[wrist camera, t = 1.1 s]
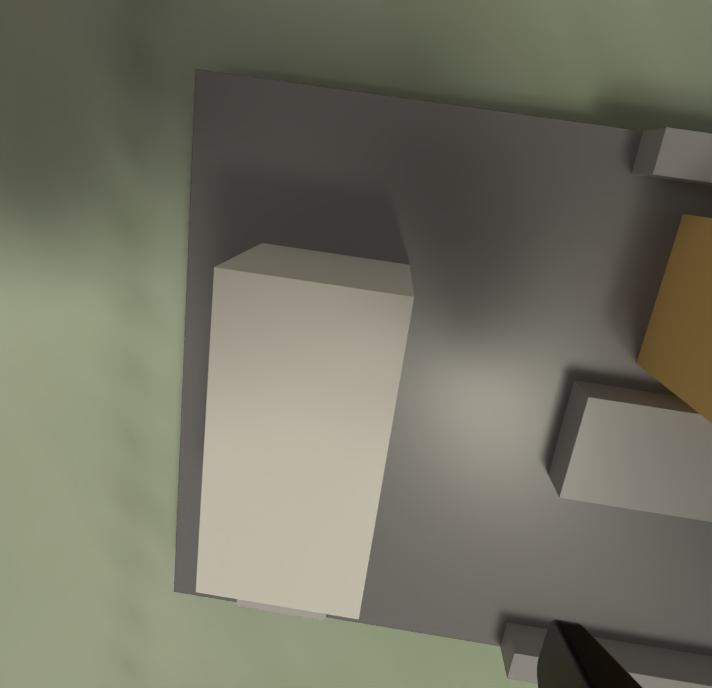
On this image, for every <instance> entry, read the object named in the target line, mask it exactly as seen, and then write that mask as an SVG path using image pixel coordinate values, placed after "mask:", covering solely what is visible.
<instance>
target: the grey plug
mask: <svg viewBox="0 0 712 688" xmlns="http://www.w3.org/2000/svg"><path fill="white" fill-rule="evenodd" d="M413 301H414V292H413V284H412V276H411V268H410V265H408V264H401V263H394V262H388V261H381V260H374V259H367V258H360V257H354V256H347V255H340V254H333V253H327V252H320V251H313V250H306V249H300V248H293V247H286V246H279V245H272V244H266V243H261V244H259V245H257V246H255V247H253V248H251V249H249V250H247V251H245V252H243V253H241V254H239V255H237V256H235V257H233V258H231V259H229V260H227V261H225V262H223V263H221V264H219V265H218V266H216V267H214V278H213V296H212V314H211V331H210V349H209V367H208V384H207V402H206V420H205V437H204V455H203V473H202V490H201V508H200V526H199V543H198V561H197V579H196V592H197V593H203V594H209V595H215V596H221V597H227V598H233V599H237V604H236V606H239V607H245V608H251V609H257V610H263V611H269V612H275V613H281V614H287V615H293V616H298V617H304V618H310V619H316V620H322V621H325V620H326V614H329V615H335V616H341V617H347V618H353V619H359V615H360V609H361V603H362V597H363V591H364V585H365V580H366V574H367V568H368V562H369V556H370V551H371V545H372V539H373V533H374V527H375V522H376V516H377V510H378V504H379V498H380V493H381V487H382V481H383V475H384V469H385V464H386V458H387V452H388V446H389V440H390V435H391V429H392V423H393V417H394V411H395V406H396V400H397V394H398V388H399V382H400V377H401V371H402V365H403V359H404V353H405V348H406V342H407V336H408V330H409V324H410V318H411V313H412V307H413Z"/></svg>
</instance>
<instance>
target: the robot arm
mask: <svg viewBox="0 0 712 688" xmlns="http://www.w3.org/2000/svg"><path fill="white" fill-rule="evenodd" d="M537 681H538V688H643V687H642V686H641V685H640V684H639V683H638V682H637V681H636V680H635V679H634V678H633V677H632V676H631V675H630V674H629V673H628V672H627V671H626V670H625V669H624V668H623V667H622V666H621V665H620V664H619V663H618V662H617V660H616V659H615V658H614V657H613V656H612V655H611V654H610V653H609V652H608V651H607V650H606V649H605V648H604V647H603V646H602V645H601V644H600V643H599V642H598V641H597V640H596V639H595V638H594V637H593V636H592V634H591V633H590V632H589V631H588V630H587V629H586V628H585V627H584V626H582V625H581V624H580V623H577V622H572V621H566V620H560V619H554V620H552V621H551V622H550V624H549V626H548V628H547V632H546V635H545V638H544V642H543V645H542V648H541V651H540V655H539V658H538V662H537Z"/></svg>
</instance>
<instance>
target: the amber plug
mask: <svg viewBox="0 0 712 688" xmlns="http://www.w3.org/2000/svg"><path fill="white" fill-rule="evenodd" d="M637 364H638V365H639V366H640V367H642V368H643V369H644V370H645V371H647V372H648V373H649V374H650V375H652V376H653V377H654V378H655V379H657V380H658V381H659V382H660V383H662V384H663V385H664V386H665V387H667V388H668V389H669V390H671V391H672V392H673V393H674V394H676V395H677V396H678V397H679V398H681V399H682V400H683V401H684V402H686V403H687V404H688V405H689V406H691V407H692V408H693V409H694V410H696V411H697V412H698V413H699V414H701V415H702V416H703V417H704V418H706V419H707V420H708V421H709V422H711V423H712V218H708V217H701V216H694V215H687V214H683V215H682V218H681V222H680V225H679V228H678V231H677V234H676V238H675V241H674V244H673V247H672V251H671V254H670V257H669V260H668V263H667V267H666V270H665V273H664V276H663V279H662V283H661V286H660V289H659V292H658V295H657V299H656V302H655V305H654V308H653V312H652V315H651V318H650V321H649V324H648V328H647V331H646V334H645V337H644V340H643V344H642V347H641V350H640V353H639V356H638V360H637Z"/></svg>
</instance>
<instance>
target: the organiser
mask: <svg viewBox="0 0 712 688" xmlns="http://www.w3.org/2000/svg"><path fill="white" fill-rule="evenodd" d="M683 214H687V215H694V216H701V217H708V218H712V133H705V132H698V131H691V130H684V129H676V128H669V127H664V128H659V129H653V130H647V131H638V130H631V129H624V128H617V127H609V126H602V125H595V124H588V123H580V122H573V121H566V120H559V119H552V118H544V117H537V116H530V115H523V114H515V113H508V112H501V111H494V110H487V109H479V108H472V107H465V106H458V105H451V104H443V103H436V102H429V101H422V100H414V99H407V98H400V97H393V96H386V95H378V94H371V93H364V92H357V91H349V90H342V89H335V88H328V87H321V86H313V85H306V84H299V83H292V82H284V81H277V80H270V79H263V78H256V77H248V76H241V75H234V74H227V73H220V72H212V71H205V70H198V69H196V75H195V99H194V123H193V147H192V171H191V195H190V219H189V243H188V267H187V291H186V315H185V340H184V364H183V388H182V412H181V436H180V460H179V484H178V508H177V532H176V556H175V580H174V592H180V593H186V594H192V595H198V596H203V597H209V598H215V599H221V600H227V601H233V602H237V599H233V598H227V597H221V596H215V595H209V594H203V593H197V592H196V579H197V561H198V543H199V526H200V508H201V490H202V473H203V455H204V437H205V420H206V402H207V384H208V367H209V349H210V331H211V314H212V296H213V278H214V267H216V266H218V265H219V264H221V263H223V262H225V261H227V260H229V259H231V258H233V257H235V256H237V255H239V254H241V253H243V252H245V251H247V250H249V249H251V248H253V247H255V246H257V245H259V244H261V243H266V244H272V245H279V246H286V247H293V248H300V249H306V250H313V251H320V252H327V253H333V254H340V255H347V256H354V257H360V258H367V259H374V260H381V261H388V262H394V263H401V264H408V265H410V268H411V276H412V284H413V292H414V301H413V307H412V313H411V318H410V324H409V330H408V336H407V342H406V348H405V353H404V359H403V365H402V371H401V377H400V382H399V388H398V394H397V400H396V406H395V411H394V417H393V423H392V429H391V435H390V440H389V446H388V452H387V458H386V464H385V469H384V475H383V481H382V487H381V493H380V498H379V504H378V510H377V516H376V522H375V527H374V533H373V539H372V545H371V551H370V556H369V562H368V568H367V574H366V580H365V585H364V591H363V597H362V603H361V609H360V615H359V619H353V618H347V617H341V616H335V615H329V614H326V617H329V618H335V619H341V620H347V621H352V622H358V623H364V624H370V625H376V626H382V627H388V628H394V629H400V630H406V631H412V632H418V633H424V634H430V635H436V636H442V637H448V638H454V639H460V640H466V641H472V642H478V643H484V644H490V645H496V646H500V647H501V651H502V656H503V661H504V665H505V670H506V675H507V678H509V679H514V680H520V681H526V682H532V683H538V681H537V662H538V658H539V655H540V651H541V648H542V645H543V642H544V638H545V635H546V632H547V628H548V626H549V624H550V622H551V621H552V620H554V619H560V620H566V621H572V622H577V623H580V624H581V625H582V626H584V627H585V628H586V629H587V630H588V631H589V632H590V633H591V634H592V636H593V637H594V638H595V639H596V640H597V641H598V642H599V643H600V644H601V645H602V646H603V647H604V648H605V649H606V650H607V651H608V652H609V653H610V654H611V655H612V656H613V657H614V658H615V659H616V660H617V662H618V663H619V664H620V665H621V666H622V667H623V668H624V669H625V670H626V671H627V672H628V673H629V674H630V675H631V676H632V677H633V678H634V679H635V680H636V681H637V682H638V683H639V684H640V685H641V686H642V687H643V688H712V423H711V422H709V421H708V420H707V419H706V418H704V417H703V416H702V415H701V414H699V413H698V412H697V411H696V410H694V409H693V408H692V407H691V406H689V405H688V404H687V403H686V402H684V401H683V400H682V399H681V398H679V397H678V396H677V395H676V394H674V393H673V392H672V391H671V390H669V389H668V388H667V387H665V386H664V385H663V384H662V383H660V382H659V381H658V380H657V379H655V378H654V377H653V376H652V375H650V374H649V373H648V372H647V371H645V370H644V369H643V368H642V367H640V366H639V365H638V364H637V360H638V356H639V353H640V350H641V347H642V344H643V340H644V337H645V334H646V331H647V328H648V324H649V321H650V318H651V315H652V312H653V308H654V305H655V302H656V299H657V295H658V292H659V289H660V286H661V283H662V279H663V276H664V273H665V270H666V267H667V263H668V260H669V257H670V254H671V251H672V247H673V244H674V241H675V238H676V234H677V231H678V228H679V225H680V222H681V218H682V215H683Z"/></svg>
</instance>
